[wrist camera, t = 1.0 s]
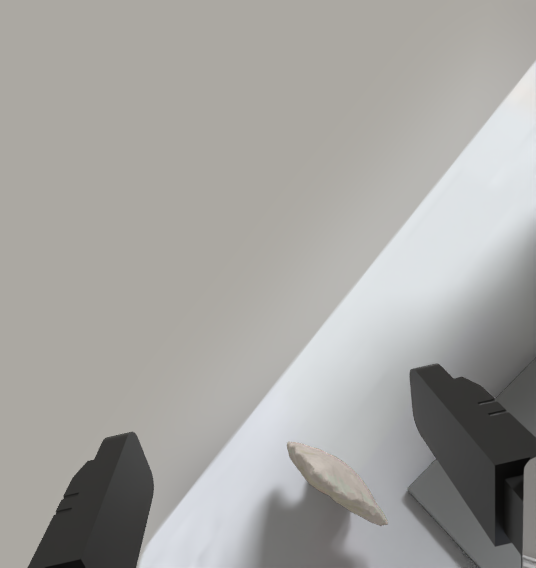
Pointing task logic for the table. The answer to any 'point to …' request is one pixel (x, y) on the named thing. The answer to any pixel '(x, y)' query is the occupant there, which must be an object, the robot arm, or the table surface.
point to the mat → (449, 503)
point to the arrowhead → (336, 481)
